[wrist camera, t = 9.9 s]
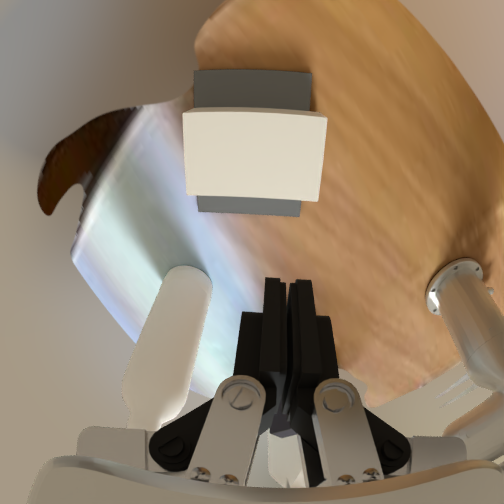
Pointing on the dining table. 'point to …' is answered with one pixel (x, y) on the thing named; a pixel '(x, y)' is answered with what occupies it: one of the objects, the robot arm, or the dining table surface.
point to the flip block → (254, 152)
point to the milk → (285, 461)
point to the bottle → (167, 349)
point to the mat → (256, 96)
